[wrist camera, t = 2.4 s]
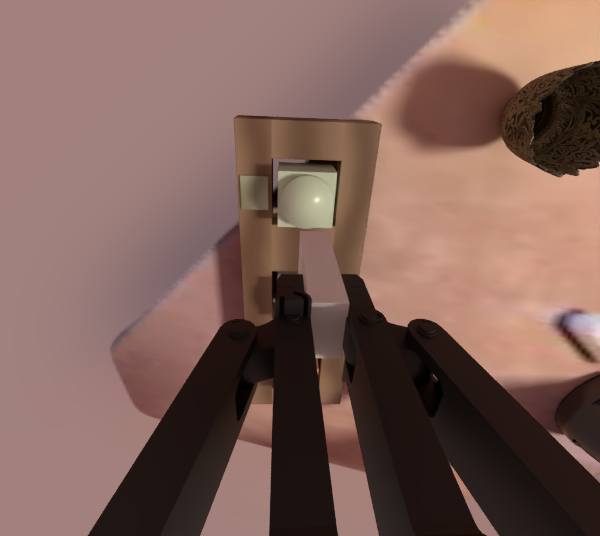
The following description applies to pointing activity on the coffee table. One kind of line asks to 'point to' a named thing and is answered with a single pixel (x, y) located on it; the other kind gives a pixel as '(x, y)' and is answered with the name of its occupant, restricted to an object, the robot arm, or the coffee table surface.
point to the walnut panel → (285, 240)
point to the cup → (556, 121)
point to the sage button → (306, 195)
